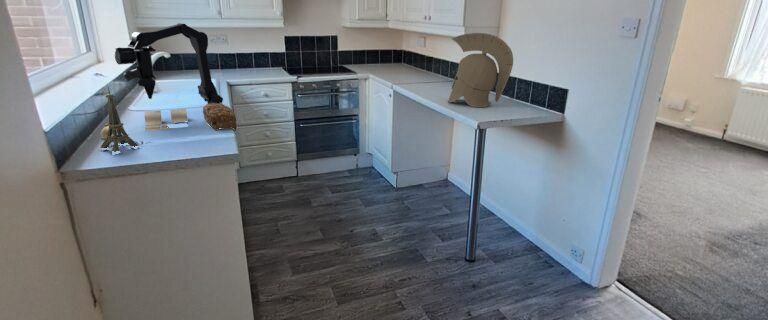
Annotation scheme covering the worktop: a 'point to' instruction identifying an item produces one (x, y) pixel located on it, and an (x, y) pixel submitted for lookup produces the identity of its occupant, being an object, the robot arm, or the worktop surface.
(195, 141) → the worktop surface
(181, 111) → the oak plank
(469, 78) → the helmet
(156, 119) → the oak plank
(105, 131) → the onion
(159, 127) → the cardboard box
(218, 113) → the bread
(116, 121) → the eiffel tower
